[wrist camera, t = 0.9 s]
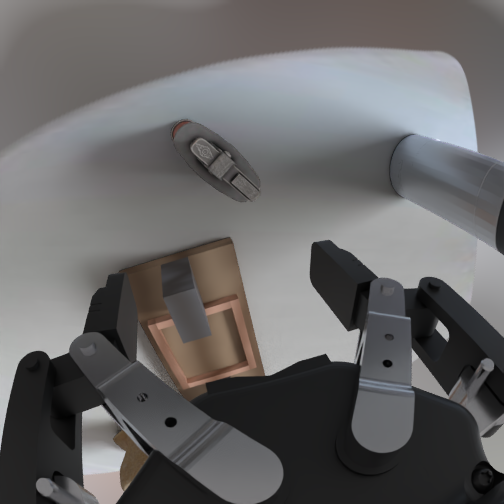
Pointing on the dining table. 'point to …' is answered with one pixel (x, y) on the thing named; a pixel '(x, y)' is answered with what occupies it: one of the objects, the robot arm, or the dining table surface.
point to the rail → (220, 323)
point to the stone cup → (129, 459)
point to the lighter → (216, 161)
